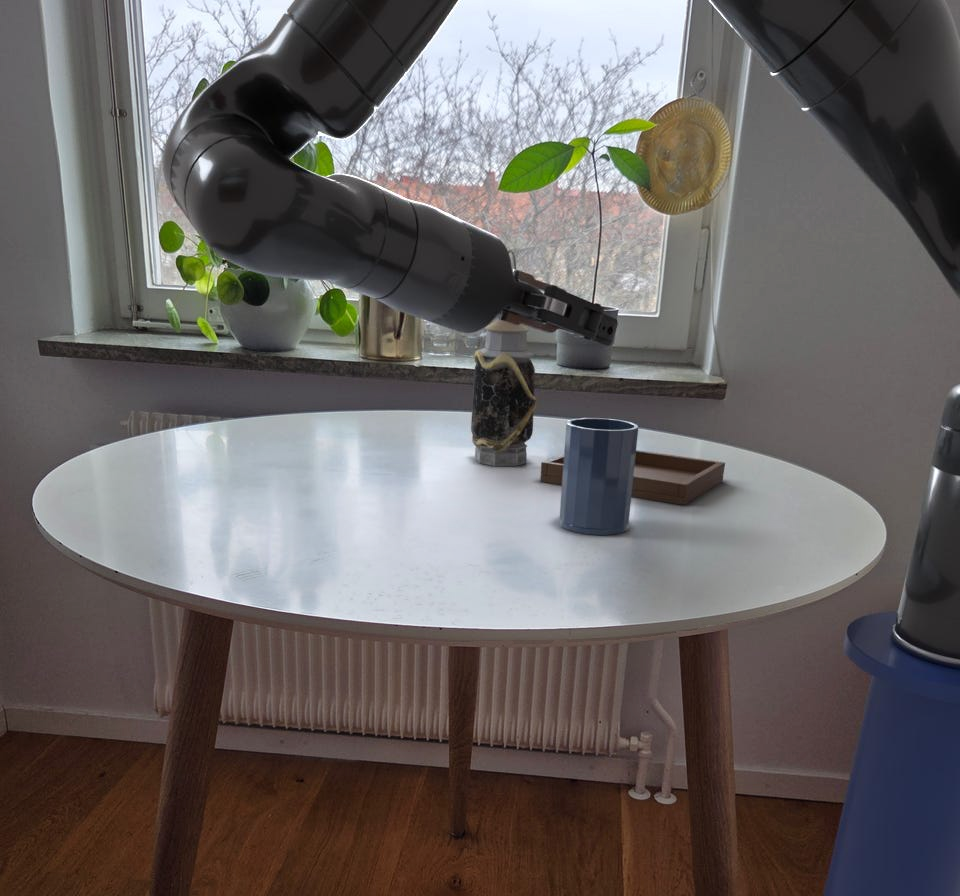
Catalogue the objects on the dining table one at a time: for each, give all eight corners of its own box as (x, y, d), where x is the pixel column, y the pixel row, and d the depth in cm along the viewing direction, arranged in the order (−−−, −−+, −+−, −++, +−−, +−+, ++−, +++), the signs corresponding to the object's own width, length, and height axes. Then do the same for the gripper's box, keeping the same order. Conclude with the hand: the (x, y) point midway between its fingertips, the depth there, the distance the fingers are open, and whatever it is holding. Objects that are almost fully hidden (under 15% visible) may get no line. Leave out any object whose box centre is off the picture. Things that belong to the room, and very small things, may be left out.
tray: (722, 481, 114) (725, 462, 113) (684, 505, 102) (686, 484, 101) (590, 461, 122) (591, 443, 121) (539, 481, 110) (541, 462, 109)
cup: (637, 523, 94) (648, 423, 90) (612, 539, 89) (622, 433, 85) (576, 512, 97) (584, 415, 94) (547, 527, 92) (554, 424, 88)
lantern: (464, 453, 123) (471, 248, 113) (524, 453, 125) (536, 250, 115) (476, 468, 115) (484, 248, 106) (540, 468, 117) (554, 251, 107)
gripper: (512, 224, 63) (653, 292, 75) (393, 206, 73) (534, 268, 84) (480, 335, 66) (622, 385, 77) (368, 303, 75) (509, 351, 86)
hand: (576, 324), depth 80 cm, fingers open, 8 cm apart
